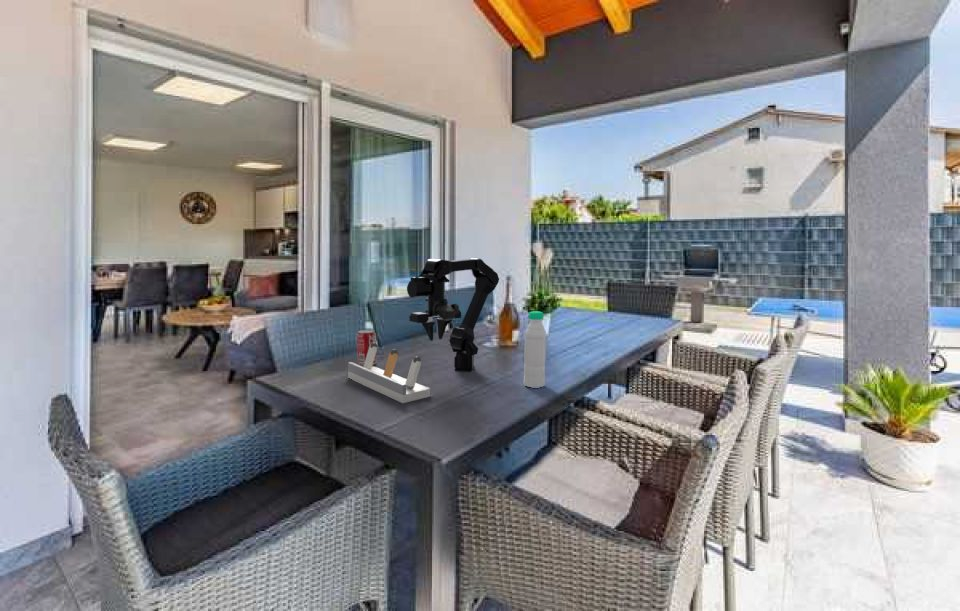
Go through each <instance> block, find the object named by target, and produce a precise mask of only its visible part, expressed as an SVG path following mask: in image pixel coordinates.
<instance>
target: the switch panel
mask: <svg viewBox="0 0 960 611" xmlns="http://www.w3.org/2000/svg"><path fill="white" fill-rule="evenodd" d="M384 370H385V369H382V368H379V367H377V366H375V365H372V368H371V370H370V369H367V368H365V367H363V366H360V365H359V364H358V363H355V362H352V361H349V362H347V372H348V373H347V374H348V375H347V377H348V379H349V378H350V379H349V380H351V379H352V381H354V382H356V383H358V384H360V385H363V386H364V387H367V388H368V389H371V390H374V391H375V392H377V393H380V394H382V395H385V396H386V397H388V398H391V399H393V400H395V401H397V402H399V403H401V404H406V403H409V402H413V401H418V400H421V399H427V398H429V397H431V388H430V387H429V386H425V385H422V384H420V383H417V382H416V383H415V386H414V389H413V390H412V389H409V388H407V387H406V384H405V383H406V380H407V378H405V377H402V376H400V375H397V374H395V373H393V374H392V377H391V378H389V377H387V376H384V375H383V374H384Z"/></svg>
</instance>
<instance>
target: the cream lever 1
mask: <svg viewBox="0 0 960 611" xmlns="http://www.w3.org/2000/svg"><path fill="white" fill-rule="evenodd" d="M377 351H378V344H377V342H376V343H375V342H373V343H371V345H370V346H369V350H368V353H367V356H366V360H365V363H364V366H362V367H365V368H367V369H370V370H371V368H372V367H373V366H374V365H373V361H374V358H375V355H376V356H377Z"/></svg>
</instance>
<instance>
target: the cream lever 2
mask: <svg viewBox="0 0 960 611" xmlns="http://www.w3.org/2000/svg"><path fill="white" fill-rule="evenodd" d="M421 365H422V359H421V357H420V356H414V357H413V359H412V360H411V364H410V366H409V371H408V374H407V377H406V379H407V380H406V383H405V384H406V387H407V388H409V389H412V390H413V389H414V386H415V383H417V379H418V375H419V373H420V368H421Z"/></svg>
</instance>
